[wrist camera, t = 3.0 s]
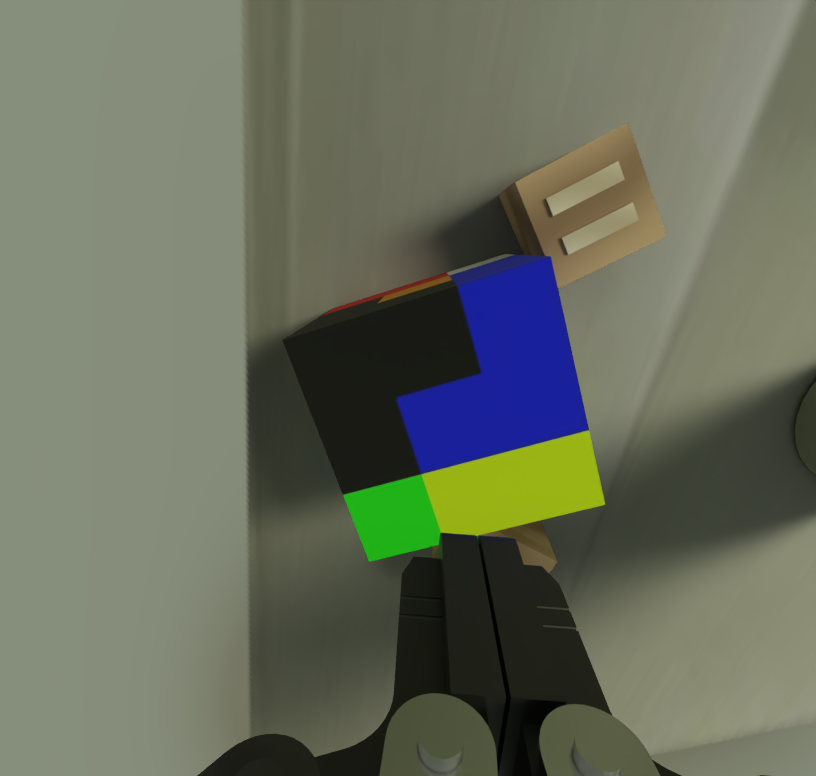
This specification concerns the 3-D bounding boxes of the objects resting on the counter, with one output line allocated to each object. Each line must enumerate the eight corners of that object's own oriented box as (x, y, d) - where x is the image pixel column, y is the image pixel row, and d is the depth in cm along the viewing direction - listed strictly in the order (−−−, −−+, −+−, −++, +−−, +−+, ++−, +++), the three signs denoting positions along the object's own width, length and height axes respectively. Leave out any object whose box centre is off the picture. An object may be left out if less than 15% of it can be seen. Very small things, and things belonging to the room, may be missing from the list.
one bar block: (537, 512, 30) (558, 563, 25) (496, 568, 31) (509, 628, 26) (470, 477, 29) (478, 523, 24) (431, 536, 31) (432, 591, 26)
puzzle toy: (504, 254, 25) (550, 256, 16) (544, 417, 28) (605, 504, 18) (334, 307, 27) (282, 340, 17) (388, 459, 29) (369, 561, 20)
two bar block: (621, 239, 25) (668, 236, 20) (534, 281, 26) (559, 288, 21) (587, 147, 24) (629, 121, 19) (498, 195, 25) (515, 181, 20)
